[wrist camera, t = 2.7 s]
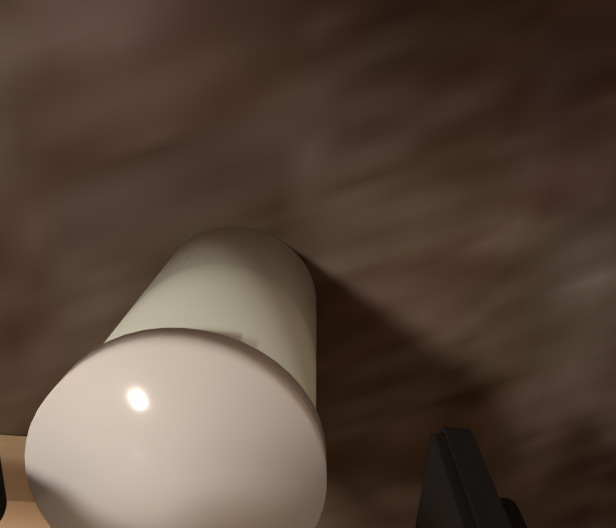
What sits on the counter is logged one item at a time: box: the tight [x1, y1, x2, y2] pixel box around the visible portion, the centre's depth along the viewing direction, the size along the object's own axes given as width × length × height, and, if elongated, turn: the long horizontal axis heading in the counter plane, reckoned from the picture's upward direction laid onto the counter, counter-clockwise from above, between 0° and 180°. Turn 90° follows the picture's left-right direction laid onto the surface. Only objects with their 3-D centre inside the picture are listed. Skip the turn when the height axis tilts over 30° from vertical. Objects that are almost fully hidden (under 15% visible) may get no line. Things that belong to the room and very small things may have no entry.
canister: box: [25, 227, 327, 528], centre depth 13 cm, size 6×6×8 cm
